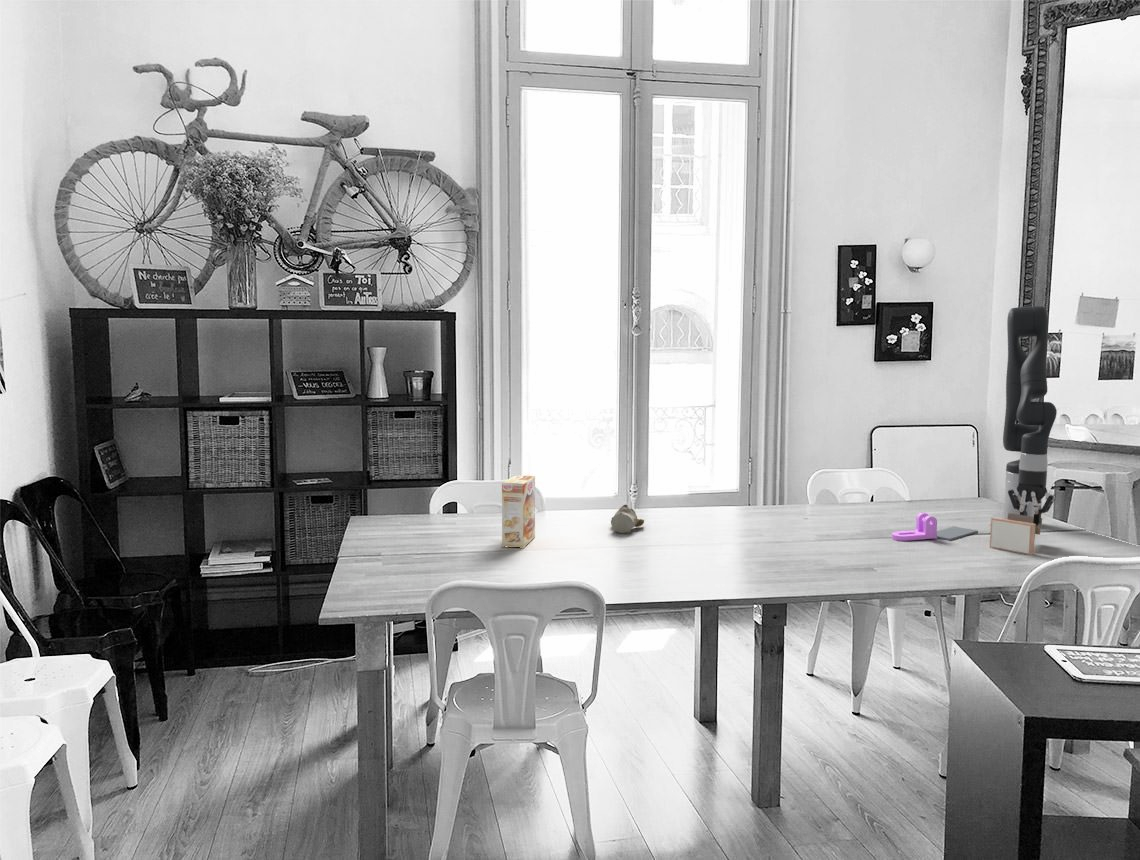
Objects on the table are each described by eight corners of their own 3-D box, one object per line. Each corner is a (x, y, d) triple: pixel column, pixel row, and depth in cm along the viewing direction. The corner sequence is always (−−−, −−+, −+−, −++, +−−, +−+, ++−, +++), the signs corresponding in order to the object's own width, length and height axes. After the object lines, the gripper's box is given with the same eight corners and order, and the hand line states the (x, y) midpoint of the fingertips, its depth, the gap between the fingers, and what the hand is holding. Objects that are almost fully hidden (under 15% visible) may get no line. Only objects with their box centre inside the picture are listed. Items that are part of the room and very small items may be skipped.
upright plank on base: (1023, 531, 288) (1025, 515, 288) (1046, 535, 282) (1049, 519, 283) (1006, 529, 280) (1008, 513, 280) (1030, 533, 275) (1032, 516, 275)
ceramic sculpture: (604, 506, 296) (614, 500, 310) (603, 533, 296) (614, 526, 311) (637, 508, 293) (646, 502, 308) (636, 536, 294) (645, 528, 308)
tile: (992, 546, 281) (994, 517, 280) (1033, 554, 272) (1035, 523, 271) (989, 547, 280) (990, 518, 279) (1030, 555, 271) (1032, 524, 270)
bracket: (927, 533, 295) (927, 512, 294) (936, 538, 290) (937, 516, 289) (888, 536, 293) (888, 515, 292) (897, 541, 288) (897, 519, 287)
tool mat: (953, 528, 306) (954, 526, 306) (977, 532, 300) (978, 530, 300) (925, 536, 294) (925, 534, 294) (949, 540, 288) (949, 538, 288)
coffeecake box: (524, 548, 277) (524, 483, 275) (500, 547, 278) (500, 482, 276) (536, 537, 292) (536, 475, 289) (514, 536, 293) (513, 474, 291)
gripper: (1063, 469, 277) (1059, 527, 279) (1015, 464, 288) (1011, 519, 290) (1052, 472, 273) (1048, 530, 274) (1003, 466, 283) (1000, 523, 285)
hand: (1029, 524), depth 282 cm, fingers closed on upright plank on base, 3 cm apart
